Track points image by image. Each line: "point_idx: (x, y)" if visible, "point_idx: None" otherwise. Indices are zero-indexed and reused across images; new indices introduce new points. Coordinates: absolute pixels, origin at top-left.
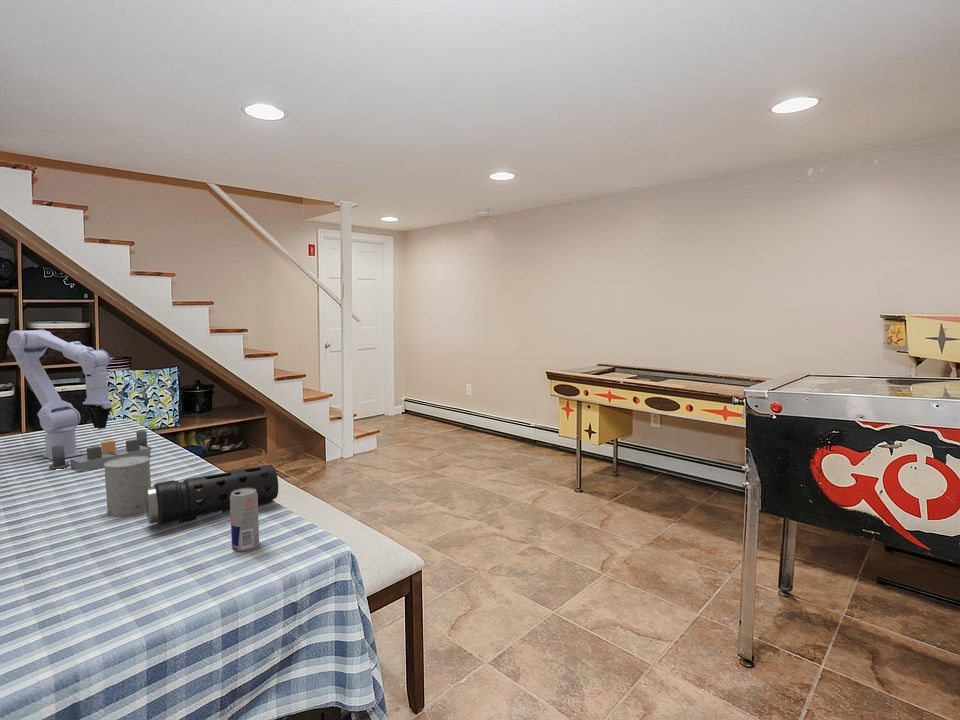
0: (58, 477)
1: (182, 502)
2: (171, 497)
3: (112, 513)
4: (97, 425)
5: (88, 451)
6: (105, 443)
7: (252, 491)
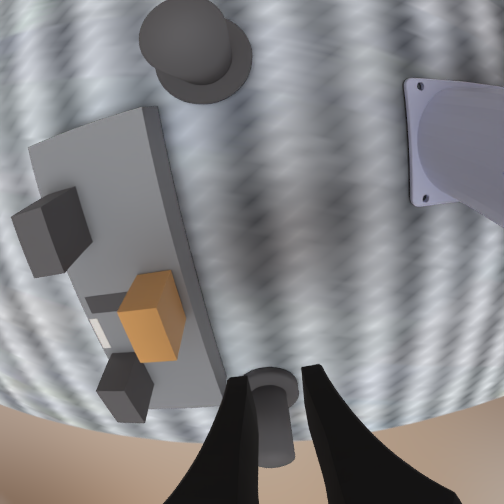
0: (39, 60)
1: None
2: None
3: None
4: (223, 400)
5: (30, 207)
6: (120, 317)
7: None
